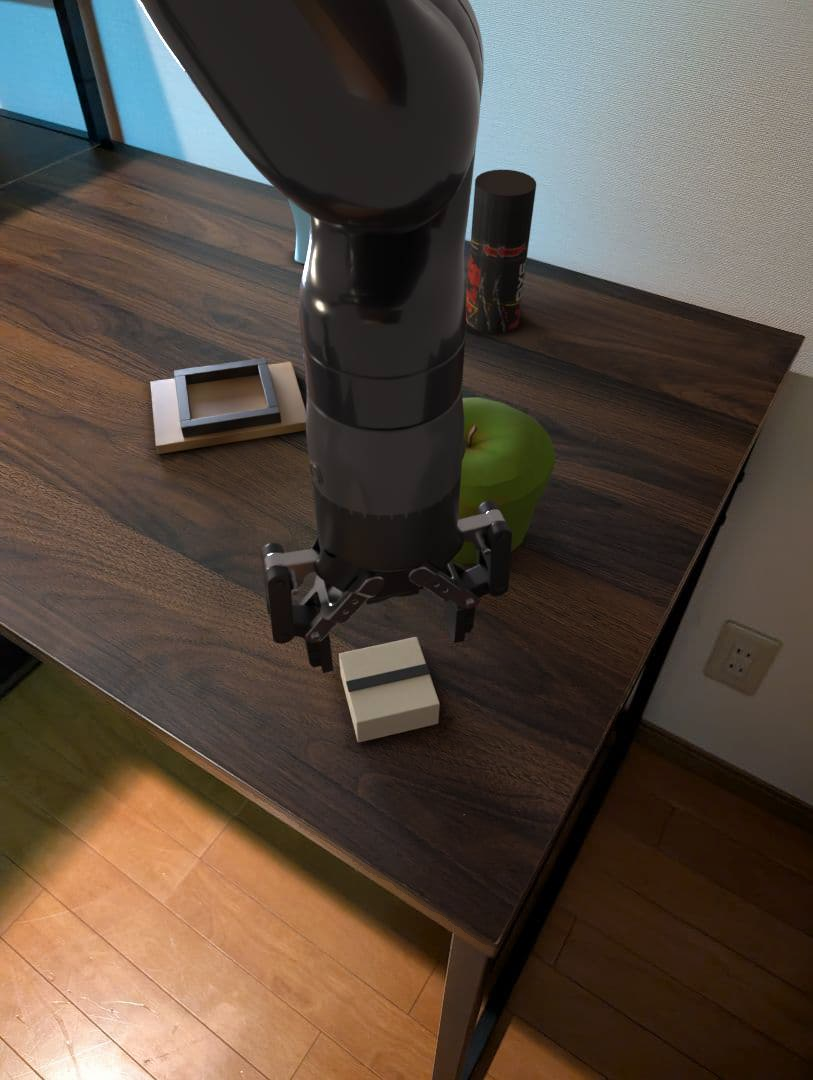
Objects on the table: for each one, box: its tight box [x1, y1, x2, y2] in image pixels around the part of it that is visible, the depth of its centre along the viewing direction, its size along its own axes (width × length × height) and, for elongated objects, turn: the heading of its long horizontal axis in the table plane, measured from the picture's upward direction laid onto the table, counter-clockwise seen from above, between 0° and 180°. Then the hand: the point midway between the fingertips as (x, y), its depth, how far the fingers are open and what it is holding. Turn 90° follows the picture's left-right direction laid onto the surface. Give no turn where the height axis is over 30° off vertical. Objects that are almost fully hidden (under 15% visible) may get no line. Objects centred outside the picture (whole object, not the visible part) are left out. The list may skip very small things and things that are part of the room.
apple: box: [453, 396, 557, 565], centre depth 62 cm, size 12×12×11 cm
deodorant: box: [465, 169, 537, 334], centre depth 83 cm, size 6×6×15 cm
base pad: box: [149, 357, 306, 455], centre depth 76 cm, size 14×10×2 cm
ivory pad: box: [338, 636, 441, 743], centre depth 54 cm, size 6×6×3 cm
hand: (390, 646), depth 51 cm, fingers open, 8 cm apart
